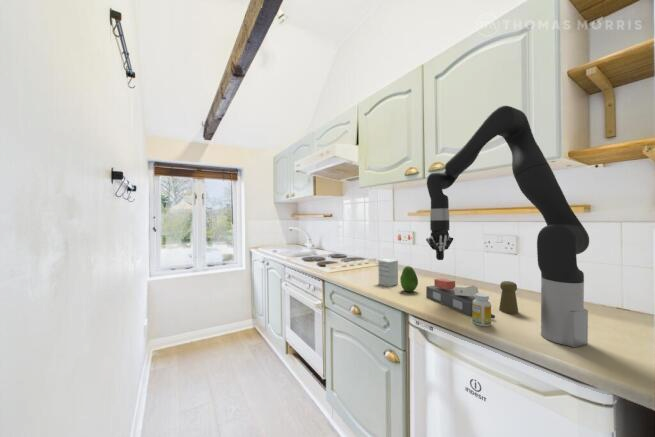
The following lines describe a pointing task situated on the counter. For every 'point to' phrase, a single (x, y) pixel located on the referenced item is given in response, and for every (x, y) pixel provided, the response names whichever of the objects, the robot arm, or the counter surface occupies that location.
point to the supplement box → (388, 272)
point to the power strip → (451, 299)
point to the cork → (508, 298)
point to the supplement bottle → (481, 310)
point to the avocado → (409, 279)
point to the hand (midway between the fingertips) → (440, 259)
